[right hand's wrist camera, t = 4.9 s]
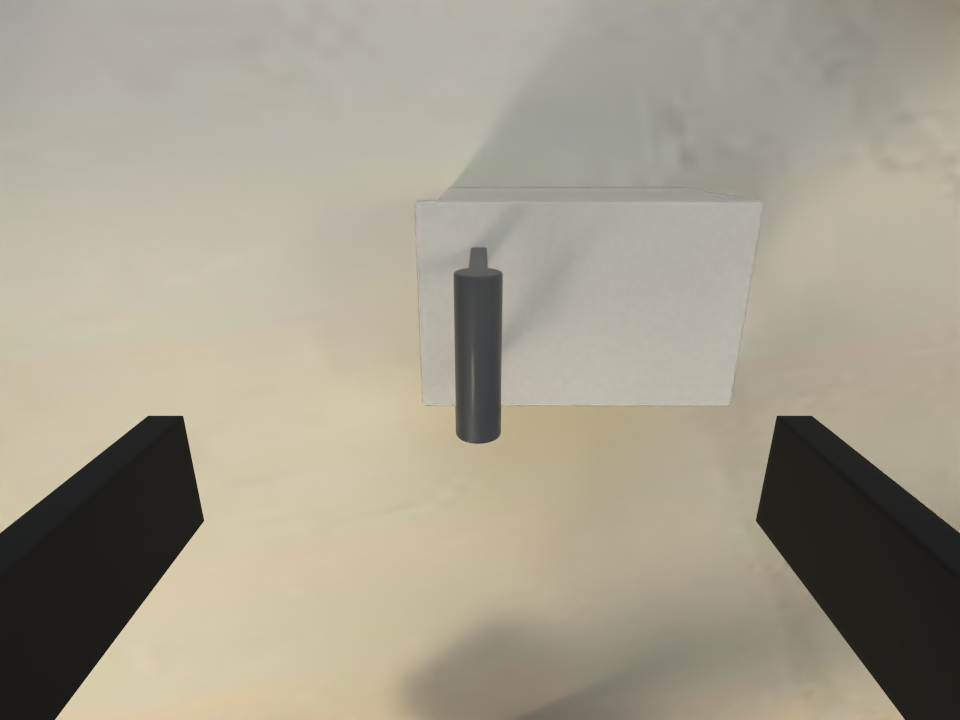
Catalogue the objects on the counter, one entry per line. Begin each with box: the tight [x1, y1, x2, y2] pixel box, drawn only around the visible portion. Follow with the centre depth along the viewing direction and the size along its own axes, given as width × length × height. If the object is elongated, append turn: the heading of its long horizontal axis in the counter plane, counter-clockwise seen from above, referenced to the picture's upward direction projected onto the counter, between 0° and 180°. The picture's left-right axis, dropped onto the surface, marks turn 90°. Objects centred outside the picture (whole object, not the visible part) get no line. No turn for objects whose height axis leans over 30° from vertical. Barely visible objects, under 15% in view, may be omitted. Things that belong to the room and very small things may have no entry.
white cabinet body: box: [439, 188, 750, 200], centre depth 31 cm, size 14×10×10 cm
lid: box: [415, 200, 764, 444], centre depth 23 cm, size 15×10×8 cm, turn 90°
